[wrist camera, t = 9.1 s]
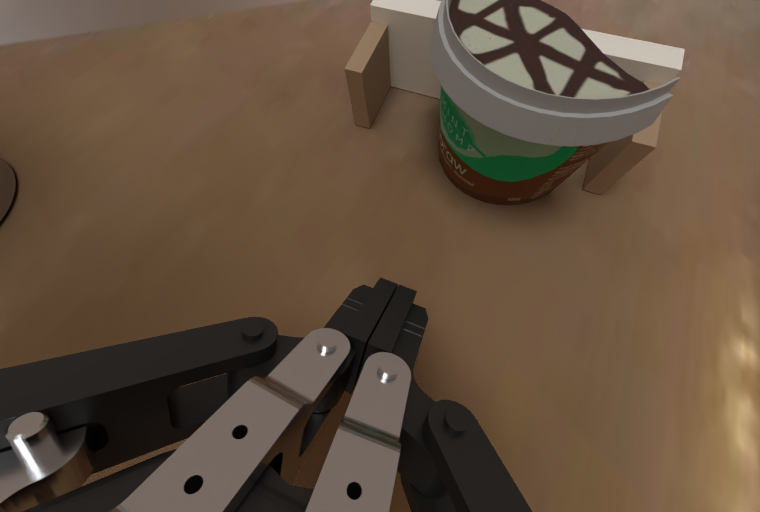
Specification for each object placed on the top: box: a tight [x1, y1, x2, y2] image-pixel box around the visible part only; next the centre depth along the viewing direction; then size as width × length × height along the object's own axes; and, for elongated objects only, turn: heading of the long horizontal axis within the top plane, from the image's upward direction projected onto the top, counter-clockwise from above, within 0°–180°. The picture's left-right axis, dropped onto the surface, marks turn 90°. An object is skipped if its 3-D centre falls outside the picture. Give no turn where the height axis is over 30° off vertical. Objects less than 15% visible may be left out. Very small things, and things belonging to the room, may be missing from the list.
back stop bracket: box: [345, 0, 685, 195], centre depth 21 cm, size 18×6×6 cm, turn 68°
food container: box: [430, 0, 680, 205], centre depth 18 cm, size 12×6×10 cm, turn 33°
